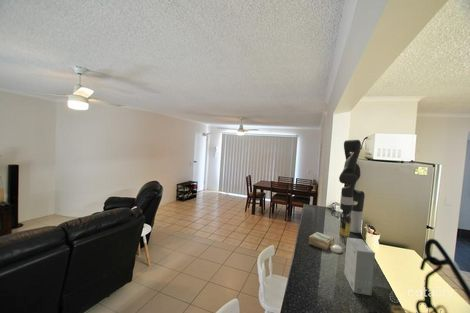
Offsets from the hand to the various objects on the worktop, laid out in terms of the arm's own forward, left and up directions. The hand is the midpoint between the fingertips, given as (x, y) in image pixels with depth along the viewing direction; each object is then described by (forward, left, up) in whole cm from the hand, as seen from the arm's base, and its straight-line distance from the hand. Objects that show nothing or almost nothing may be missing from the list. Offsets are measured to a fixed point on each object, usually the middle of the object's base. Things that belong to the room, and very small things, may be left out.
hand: (345, 226), depth 144 cm
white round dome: (+11, -1, -13) cm, 17 cm away
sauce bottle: (0, 0, -7) cm, 7 cm away
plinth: (+10, -11, -13) cm, 20 cm away
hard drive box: (+39, +19, -13) cm, 45 cm away
